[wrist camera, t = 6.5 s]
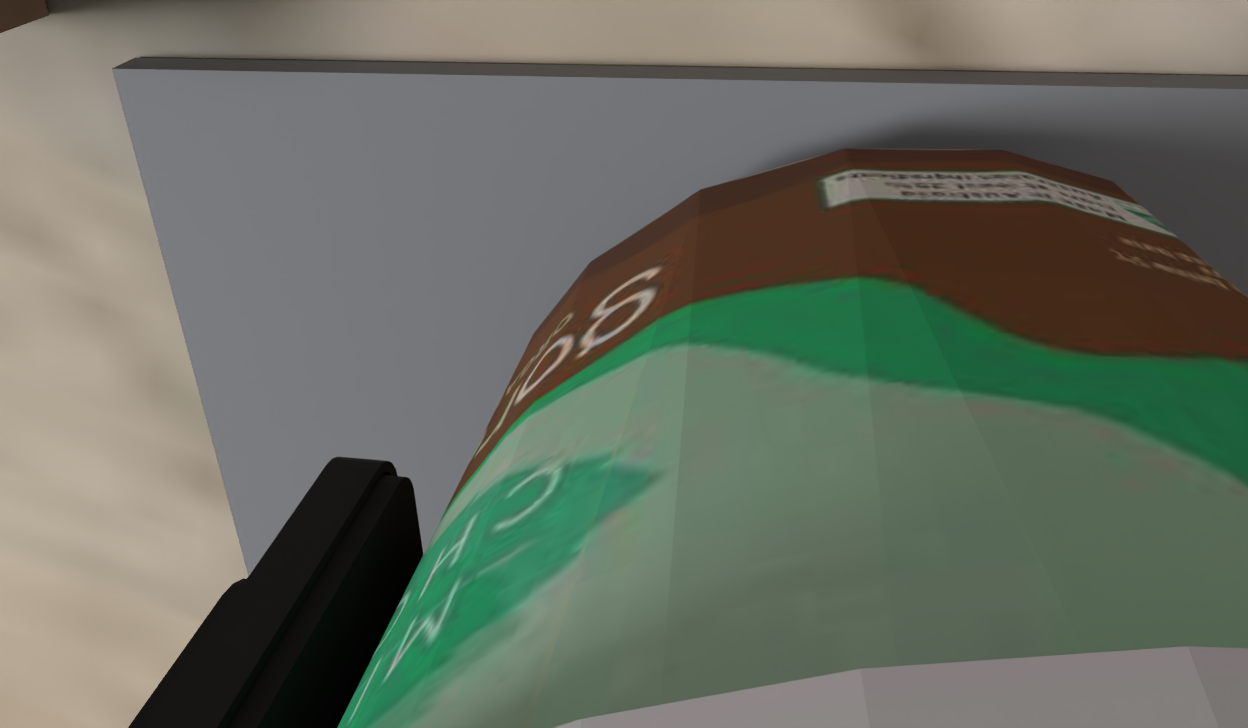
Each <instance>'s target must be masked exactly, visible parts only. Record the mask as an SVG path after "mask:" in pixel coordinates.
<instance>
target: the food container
mask: <svg viewBox="0 0 1248 728" xmlns="http://www.w3.org/2000/svg"><path fill="white" fill-rule="evenodd" d="M337 728H1248V297H1247V296H1246V295H1244V294H1243V293H1242V292H1241V291H1240V290H1239V289H1237V288H1236V287H1235V286H1234V285H1233V284H1232V283H1230V282H1229V281H1228V280H1227V279H1226V278H1225V277H1224V276H1222V275H1221V274H1220V273H1219V272H1218V271H1217V270H1215V269H1214V268H1213V267H1212V266H1211V265H1210V264H1208V263H1207V262H1206V261H1205V260H1204V259H1203V258H1201V257H1200V256H1199V255H1198V254H1197V253H1196V252H1195V251H1193V250H1192V249H1191V248H1190V247H1189V246H1188V245H1186V244H1185V243H1184V242H1183V241H1182V240H1181V239H1179V238H1178V237H1177V236H1176V235H1175V234H1174V233H1173V232H1171V231H1170V230H1169V229H1168V228H1167V227H1166V226H1164V225H1163V224H1162V223H1161V222H1160V221H1159V220H1157V219H1156V218H1155V217H1154V216H1153V215H1152V214H1151V213H1149V212H1148V211H1147V210H1146V209H1145V208H1144V207H1142V206H1141V205H1140V204H1139V203H1138V202H1137V201H1135V200H1134V199H1133V198H1132V197H1131V196H1130V195H1128V194H1127V193H1126V192H1125V191H1124V190H1123V189H1122V188H1120V187H1119V186H1118V185H1117V184H1116V183H1115V182H1113V181H1111V180H1108V179H1104V178H1101V177H1097V176H1094V175H1090V174H1086V173H1083V172H1079V171H1076V170H1072V169H1069V168H1065V167H1062V166H1058V165H1055V164H1051V163H1048V162H1044V161H1041V160H1037V159H1034V158H1030V157H1027V156H1023V155H1020V154H1016V153H1013V152H1009V151H1005V150H985V149H868V148H844V149H840V150H837V151H833V152H830V153H826V154H823V155H819V156H816V157H812V158H809V159H805V160H802V161H798V162H795V163H791V164H788V165H784V166H781V167H777V168H774V169H770V170H767V171H763V172H760V173H756V174H753V175H749V176H746V177H742V178H739V179H735V180H732V181H728V182H725V183H721V184H718V185H714V186H711V187H707V188H704V189H700V190H699V191H697V192H696V193H694V194H693V195H691V196H690V197H688V198H687V199H685V200H684V201H682V202H681V203H679V204H677V205H676V206H674V207H673V208H671V209H670V210H668V211H667V212H665V213H664V214H662V215H661V216H659V217H658V218H656V219H655V220H653V221H652V222H650V223H649V224H647V225H646V226H644V227H643V228H641V229H639V230H638V231H636V232H635V233H633V234H632V235H630V236H629V237H627V238H626V239H624V240H623V241H621V242H620V243H618V244H617V245H615V246H614V247H612V248H611V249H609V250H608V251H606V252H605V253H603V254H601V255H600V256H598V257H597V258H595V259H594V260H592V261H591V262H590V263H589V264H588V265H587V266H586V268H585V269H584V270H583V272H582V273H581V274H580V275H579V277H578V278H577V279H576V280H575V282H574V283H573V284H572V285H571V287H570V288H569V289H568V290H567V292H566V293H565V294H564V296H563V297H562V298H561V299H560V301H559V302H558V303H557V304H556V306H555V307H554V308H553V309H552V311H551V312H550V313H549V314H548V316H547V317H546V318H545V319H544V321H543V322H542V323H541V325H540V326H539V327H538V328H537V330H536V331H535V332H534V334H533V336H532V338H531V340H530V342H529V344H528V346H527V348H526V350H525V352H524V354H523V356H522V358H521V360H520V362H519V364H518V366H517V368H516V370H515V372H514V374H513V376H512V378H511V380H510V382H509V384H508V386H507V388H506V390H505V392H504V394H503V396H502V398H501V400H500V402H499V404H498V406H497V408H496V410H495V412H494V414H493V416H492V418H491V420H490V422H489V424H488V426H487V428H486V430H485V432H484V434H483V436H482V438H481V440H480V442H479V444H478V446H477V448H476V450H475V452H474V454H473V456H472V458H471V460H470V462H469V464H468V466H467V468H466V470H465V472H464V474H463V476H462V478H461V480H460V482H459V484H458V486H457V488H456V490H455V492H454V494H453V496H452V498H451V500H450V502H449V504H448V506H447V508H446V510H445V512H444V514H443V516H442V518H441V520H440V522H439V524H438V526H437V528H436V530H435V532H434V534H433V536H432V538H431V540H430V542H429V544H428V546H427V548H426V550H425V552H424V554H423V557H422V559H421V561H420V563H419V565H418V567H417V569H416V571H415V573H414V575H413V577H412V579H411V581H410V583H409V585H408V587H407V589H406V591H405V593H404V595H403V597H402V599H401V601H400V603H399V605H398V607H397V609H396V611H395V613H394V615H393V617H392V619H391V621H390V623H389V625H388V627H387V629H386V631H385V633H384V635H383V637H382V639H381V641H380V643H379V645H378V647H377V649H376V651H375V653H374V655H373V657H372V659H371V661H370V663H369V665H368V667H367V669H366V671H365V673H364V675H363V677H362V679H361V681H360V683H359V685H358V687H357V689H356V691H355V693H354V695H353V697H352V699H351V701H350V703H349V705H348V707H347V709H346V711H345V713H344V715H343V717H342V719H341V721H340V723H339V725H338V727H337Z"/></svg>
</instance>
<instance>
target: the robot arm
mask: <svg viewBox="0 0 1248 728" xmlns="http://www.w3.org/2000/svg"><path fill="white" fill-rule="evenodd" d="M422 557H423V548H422V541H421V534H420V528H419V521H418V514H417V507H416V500H415V494H414V488H413V484H412V482H411V480H410V478H408V477H401V476H398V475H397V471H396V468H395V467H394V465H393V463H391V462H389V461H384V460H372V459H360V458H349V457H335V458H332V459H331V460H330V461H329V462H328V463H327V465H326V466H325V467H324V469H323V470H322V472H321V473H320V475H319V476H318V477H317V479H316V480H315V482H314V483H313V485H312V486H311V488H310V489H309V490H308V492H307V493H306V495H305V496H304V498H303V499H302V500H301V502H300V503H299V505H298V506H297V508H296V509H295V511H294V512H293V513H292V515H291V516H290V518H289V519H288V521H287V522H286V523H285V525H284V526H283V528H282V529H281V531H280V532H279V534H278V535H277V536H276V538H275V539H274V541H273V542H272V544H271V545H270V546H269V548H268V549H267V551H266V552H265V554H264V555H263V556H262V558H261V559H260V561H259V562H258V564H257V565H256V567H255V568H254V569H253V571H252V572H251V574H250V575H249V577H248V578H247V579H242V580H240V581H238V582H236V583H234V584H232V585H231V586H230V588H229V589H228V590H227V591H226V592H225V593H224V594H223V595H222V596H221V598H220V599H219V601H218V602H217V604H216V605H215V606H214V608H213V609H212V611H211V612H210V613H209V615H208V616H207V618H206V619H205V620H204V622H203V623H202V625H201V626H200V627H199V629H198V630H197V632H196V633H195V634H194V636H193V637H192V639H191V640H190V641H189V643H188V644H187V646H186V647H185V649H184V650H183V651H182V653H181V654H180V656H179V657H178V658H177V660H176V661H175V663H174V664H173V665H172V667H171V668H170V670H169V671H168V672H167V674H166V675H165V677H164V678H163V679H162V681H161V682H160V684H159V685H158V686H157V688H156V689H155V691H154V692H153V694H152V695H151V696H150V698H149V699H148V701H147V702H146V703H145V705H144V706H143V708H142V709H141V710H140V712H139V713H138V715H137V716H136V717H135V719H134V720H133V722H132V723H131V724H130V726H129V727H128V728H337V727H338V725H339V723H340V721H341V719H342V717H343V715H344V713H345V711H346V709H347V707H348V705H349V703H350V701H351V699H352V697H353V695H354V693H355V691H356V689H357V687H358V685H359V683H360V681H361V679H362V677H363V675H364V673H365V671H366V669H367V667H368V665H369V663H370V661H371V659H372V657H373V655H374V653H375V651H376V649H377V647H378V645H379V643H380V641H381V639H382V637H383V635H384V633H385V631H386V629H387V627H388V625H389V623H390V621H391V619H392V617H393V615H394V613H395V611H396V609H397V607H398V605H399V603H400V601H401V599H402V597H403V595H404V593H405V591H406V589H407V587H408V585H409V583H410V581H411V579H412V577H413V575H414V573H415V571H416V569H417V567H418V565H419V563H420V561H421V559H422Z"/></svg>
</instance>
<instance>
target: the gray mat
mask: <svg viewBox="0 0 1248 728" xmlns="http://www.w3.org/2000/svg"><path fill="white" fill-rule="evenodd" d="M112 70H113V74H114V78H115V81H116V85H117V89H118V92H119V96H120V100H121V104H122V107H123V111H124V115H125V118H126V122H127V126H128V130H129V133H130V137H131V141H132V144H133V148H134V152H135V156H136V159H137V163H138V167H139V170H140V174H141V178H142V182H143V185H144V189H145V193H146V196H147V200H148V204H149V208H150V211H151V215H152V219H153V222H154V226H155V230H156V234H157V237H158V241H159V245H160V249H161V252H162V256H163V260H164V263H165V267H166V271H167V275H168V278H169V282H170V286H171V289H172V293H173V297H174V301H175V304H176V308H177V312H178V315H179V319H180V323H181V327H182V330H183V334H184V338H185V341H186V345H187V349H188V353H189V356H190V360H191V364H192V367H193V371H194V375H195V379H196V382H197V386H198V390H199V393H200V397H201V401H202V405H203V408H204V412H205V416H206V419H207V423H208V427H209V431H210V434H211V438H212V442H213V445H214V449H215V453H216V457H217V460H218V464H219V468H220V471H221V475H222V479H223V483H224V486H225V490H226V494H227V497H228V501H229V505H230V509H231V512H232V516H233V520H234V523H235V527H236V531H237V535H238V538H239V542H240V546H241V549H242V553H243V557H244V561H245V564H246V568H247V572H248V575H250V574H251V572H252V571H253V569H254V568H255V567H256V565H257V564H258V562H259V561H260V559H261V558H262V556H263V555H264V554H265V552H266V551H267V549H268V548H269V546H270V545H271V544H272V542H273V541H274V539H275V538H276V536H277V535H278V534H279V532H280V531H281V529H282V528H283V526H284V525H285V523H286V522H287V521H288V519H289V518H290V516H291V515H292V513H293V512H294V511H295V509H296V508H297V506H298V505H299V503H300V502H301V500H302V499H303V498H304V496H305V495H306V493H307V492H308V490H309V489H310V488H311V486H312V485H313V483H314V482H315V480H316V479H317V477H318V476H319V475H320V473H321V472H322V470H323V469H324V467H325V466H326V465H327V463H328V462H329V461H330V460H331V459H332V458H335V457H349V458H360V459H372V460H384V461H389V462H391V463H393V465H394V467H395V468H396V471H397V475H398V476H401V477H408V478H410V480H411V482H412V484H413V488H414V494H415V500H416V507H417V514H418V521H419V528H420V534H421V541H422V548H423V554H424V552H425V550H426V548H427V546H428V544H429V542H430V540H431V538H432V536H433V534H434V532H435V530H436V528H437V526H438V524H439V522H440V520H441V518H442V516H443V514H444V512H445V510H446V508H447V506H448V504H449V502H450V500H451V498H452V496H453V494H454V492H455V490H456V488H457V486H458V484H459V482H460V480H461V478H462V476H463V474H464V472H465V470H466V468H467V466H468V464H469V462H470V460H471V458H472V456H473V454H474V452H475V450H476V448H477V446H478V444H479V442H480V440H481V438H482V436H483V434H484V432H485V430H486V428H487V426H488V424H489V422H490V420H491V418H492V416H493V414H494V412H495V410H496V408H497V406H498V404H499V402H500V400H501V398H502V396H503V394H504V392H505V390H506V388H507V386H508V384H509V382H510V380H511V378H512V376H513V374H514V372H515V370H516V368H517V366H518V364H519V362H520V360H521V358H522V356H523V354H524V352H525V350H526V348H527V346H528V344H529V342H530V340H531V338H532V336H533V334H534V332H535V331H536V330H537V328H538V327H539V326H540V325H541V323H542V322H543V321H544V319H545V318H546V317H547V316H548V314H549V313H550V312H551V311H552V309H553V308H554V307H555V306H556V304H557V303H558V302H559V301H560V299H561V298H562V297H563V296H564V294H565V293H566V292H567V290H568V289H569V288H570V287H571V285H572V284H573V283H574V282H575V280H576V279H577V278H578V277H579V275H580V274H581V273H582V272H583V270H584V269H585V268H586V266H587V265H588V264H589V263H590V262H591V261H592V260H594V259H595V258H597V257H598V256H600V255H601V254H603V253H605V252H606V251H608V250H609V249H611V248H612V247H614V246H615V245H617V244H618V243H620V242H621V241H623V240H624V239H626V238H627V237H629V236H630V235H632V234H633V233H635V232H636V231H638V230H639V229H641V228H643V227H644V226H646V225H647V224H649V223H650V222H652V221H653V220H655V219H656V218H658V217H659V216H661V215H662V214H664V213H665V212H667V211H668V210H670V209H671V208H673V207H674V206H676V205H677V204H679V203H681V202H682V201H684V200H685V199H687V198H688V197H690V196H691V195H693V194H694V193H696V192H697V191H699V190H700V189H704V188H707V187H711V186H714V185H718V184H721V183H725V182H728V181H732V180H735V179H739V178H742V177H746V176H749V175H753V174H756V173H760V172H763V171H767V170H770V169H774V168H777V167H781V166H784V165H788V164H791V163H795V162H798V161H802V160H805V159H809V158H812V157H816V156H819V155H823V154H826V153H830V152H833V151H837V150H840V149H844V148H868V149H985V150H1005V151H1009V152H1013V153H1016V154H1020V155H1023V156H1027V157H1030V158H1034V159H1037V160H1041V161H1044V162H1048V163H1051V164H1055V165H1058V166H1062V167H1065V168H1069V169H1072V170H1076V171H1079V172H1083V173H1086V174H1090V175H1094V176H1097V177H1101V178H1104V179H1108V180H1111V181H1113V182H1115V183H1116V184H1117V185H1118V186H1119V187H1120V188H1122V189H1123V190H1124V191H1125V192H1126V193H1127V194H1128V195H1130V196H1131V197H1132V198H1133V199H1134V200H1135V201H1137V202H1138V203H1139V204H1140V205H1141V206H1142V207H1144V208H1145V209H1146V210H1147V211H1148V212H1149V213H1151V214H1152V215H1153V216H1154V217H1155V218H1156V219H1157V220H1159V221H1160V222H1161V223H1162V224H1163V225H1164V226H1166V227H1167V228H1168V229H1169V230H1170V231H1171V232H1173V233H1174V234H1175V235H1176V236H1177V237H1178V238H1179V239H1181V240H1182V241H1183V242H1184V243H1185V244H1186V245H1188V246H1189V247H1190V248H1191V249H1192V250H1193V251H1195V252H1196V253H1197V254H1198V255H1199V256H1200V257H1201V258H1203V259H1204V260H1205V261H1206V262H1207V263H1208V264H1210V265H1211V266H1212V267H1213V268H1214V269H1215V270H1217V271H1218V272H1219V273H1220V274H1221V275H1222V276H1224V277H1225V278H1226V279H1227V280H1228V281H1229V282H1230V283H1232V284H1233V285H1234V286H1235V287H1236V288H1237V289H1239V290H1240V291H1241V292H1242V293H1243V294H1244V295H1246V296H1247V297H1248V76H1222V75H1161V74H1100V73H1039V72H978V71H917V70H856V69H795V68H734V67H673V66H612V65H551V64H490V63H429V62H368V61H308V60H247V59H186V58H134V59H131V60H129V61H127V62H125V63H123V64H121V65H119V66H117V67H115V68H112Z"/></svg>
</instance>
